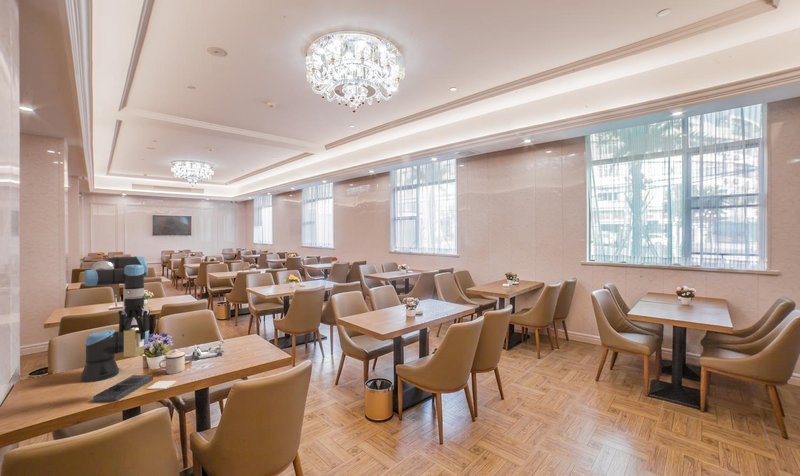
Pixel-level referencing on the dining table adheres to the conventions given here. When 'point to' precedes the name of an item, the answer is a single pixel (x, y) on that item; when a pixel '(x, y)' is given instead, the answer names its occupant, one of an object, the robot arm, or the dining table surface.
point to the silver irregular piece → (206, 353)
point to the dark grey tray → (122, 388)
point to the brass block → (132, 343)
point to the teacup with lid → (174, 362)
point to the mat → (161, 385)
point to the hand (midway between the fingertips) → (134, 346)
